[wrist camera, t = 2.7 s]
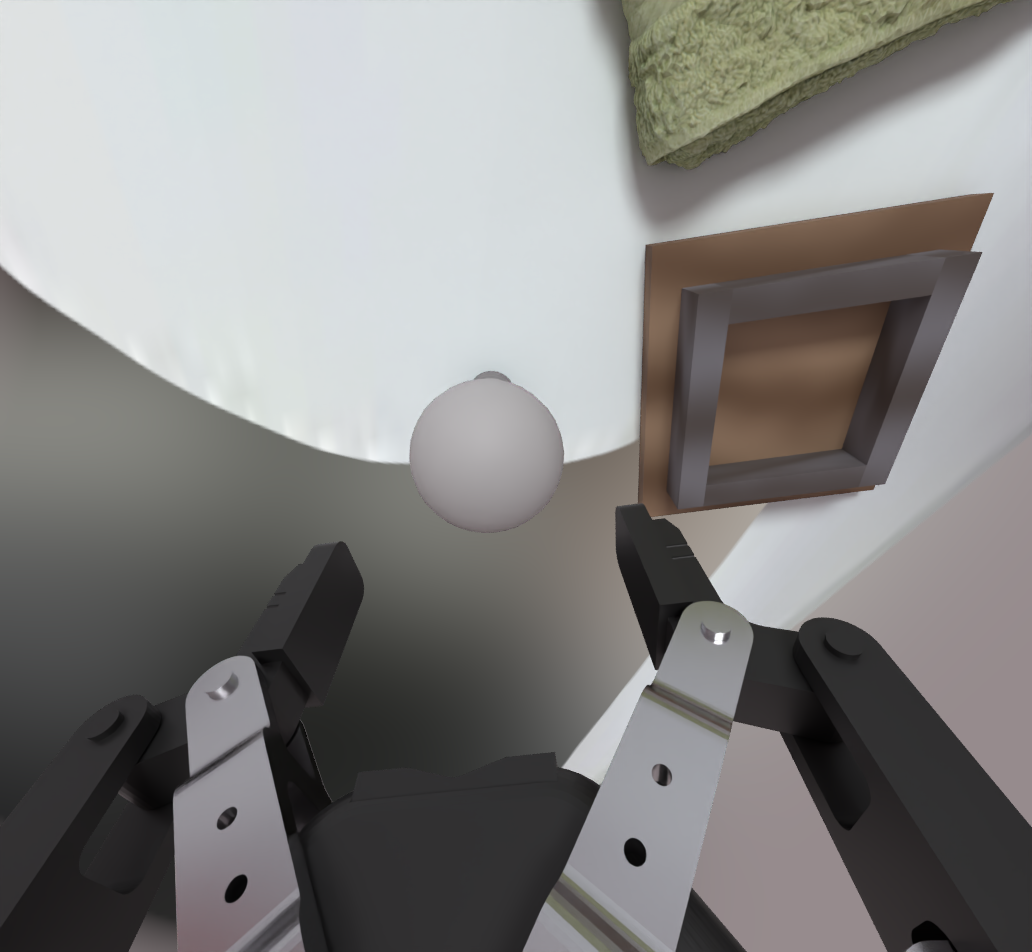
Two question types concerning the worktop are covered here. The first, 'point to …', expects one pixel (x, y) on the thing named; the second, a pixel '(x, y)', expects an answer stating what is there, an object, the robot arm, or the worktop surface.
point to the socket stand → (795, 351)
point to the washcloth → (756, 61)
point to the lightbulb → (486, 454)
